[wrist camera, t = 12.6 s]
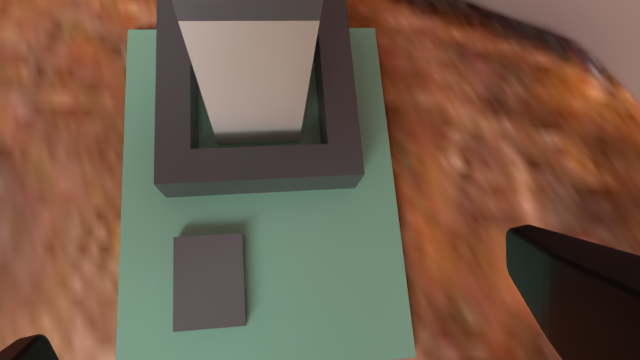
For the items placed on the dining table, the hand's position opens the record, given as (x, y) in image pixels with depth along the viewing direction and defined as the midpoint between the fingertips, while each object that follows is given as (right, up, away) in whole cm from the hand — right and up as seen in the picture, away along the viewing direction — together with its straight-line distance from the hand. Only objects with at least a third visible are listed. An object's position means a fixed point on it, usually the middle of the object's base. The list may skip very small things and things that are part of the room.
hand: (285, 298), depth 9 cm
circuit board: (-2, +2, +14) cm, 14 cm away
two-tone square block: (-2, +6, +14) cm, 16 cm away
